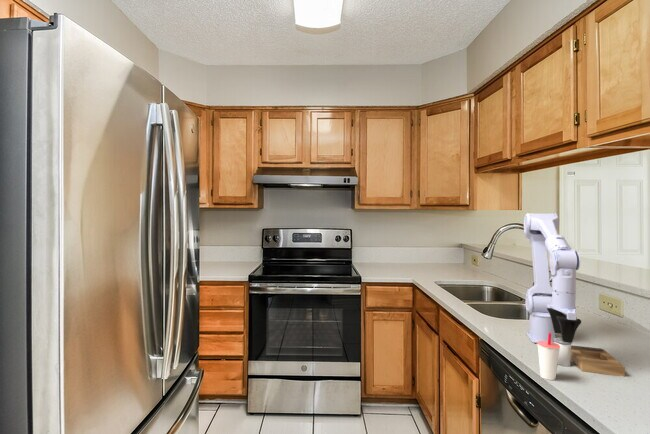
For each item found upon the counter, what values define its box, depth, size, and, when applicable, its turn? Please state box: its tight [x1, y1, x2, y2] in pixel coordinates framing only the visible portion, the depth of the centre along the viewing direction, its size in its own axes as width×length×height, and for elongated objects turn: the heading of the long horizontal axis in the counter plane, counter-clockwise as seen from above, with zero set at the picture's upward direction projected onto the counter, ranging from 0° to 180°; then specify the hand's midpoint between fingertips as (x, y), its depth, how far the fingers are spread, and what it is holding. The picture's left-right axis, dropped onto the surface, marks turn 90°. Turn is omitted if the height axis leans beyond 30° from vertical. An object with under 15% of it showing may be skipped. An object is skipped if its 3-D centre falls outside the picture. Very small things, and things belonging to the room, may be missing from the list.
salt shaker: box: [554, 336, 572, 368], centre depth 104 cm, size 4×4×7 cm
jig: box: [571, 344, 626, 377], centre depth 104 cm, size 13×10×3 cm
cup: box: [536, 333, 560, 381], centre depth 95 cm, size 5×5×12 cm
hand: (562, 337), depth 104 cm, fingers open, 7 cm apart
